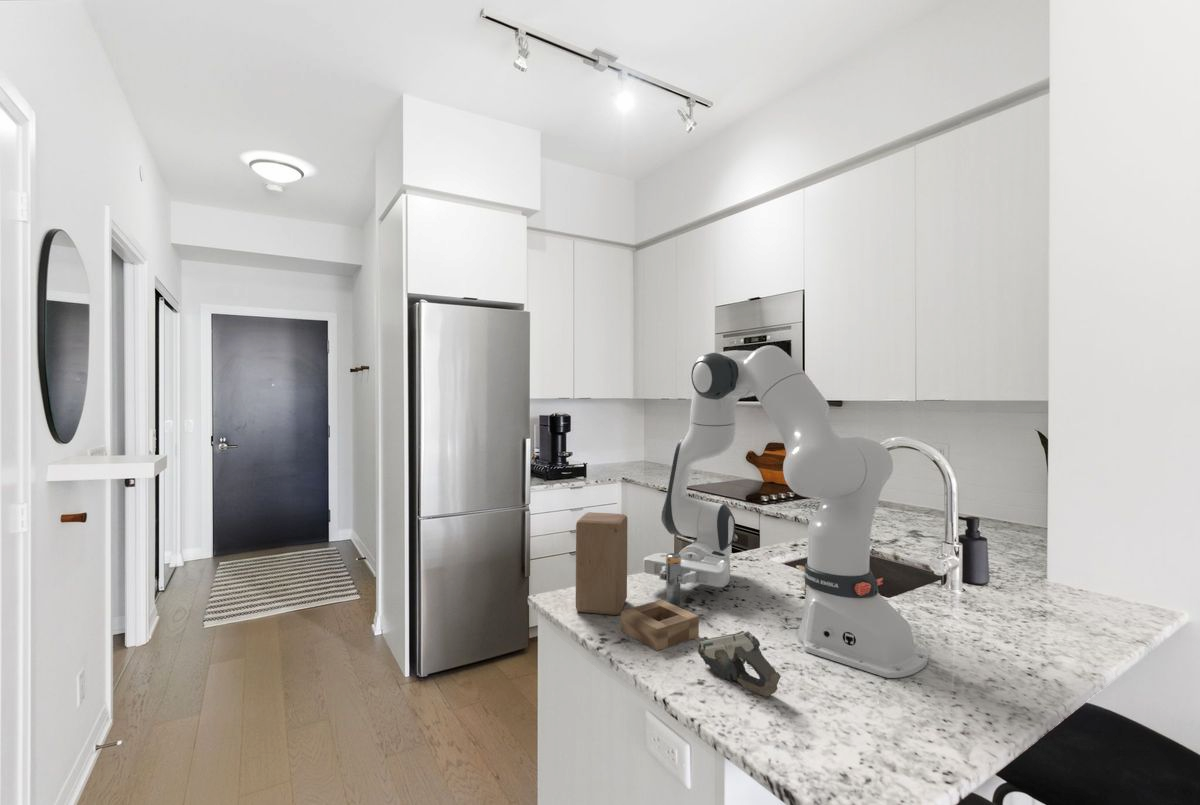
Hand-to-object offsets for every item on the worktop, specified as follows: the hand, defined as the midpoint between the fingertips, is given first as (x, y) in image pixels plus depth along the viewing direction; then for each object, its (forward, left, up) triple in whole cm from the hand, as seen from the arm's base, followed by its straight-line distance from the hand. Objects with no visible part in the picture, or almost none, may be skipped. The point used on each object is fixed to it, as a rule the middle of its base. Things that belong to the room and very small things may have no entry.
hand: (671, 578), depth 129 cm
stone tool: (-12, -42, -7) cm, 45 cm away
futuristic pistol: (-31, +14, -6) cm, 34 cm away
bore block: (-10, +12, -6) cm, 17 cm away
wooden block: (+8, +13, -6) cm, 17 cm away
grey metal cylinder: (0, -1, -6) cm, 6 cm away
